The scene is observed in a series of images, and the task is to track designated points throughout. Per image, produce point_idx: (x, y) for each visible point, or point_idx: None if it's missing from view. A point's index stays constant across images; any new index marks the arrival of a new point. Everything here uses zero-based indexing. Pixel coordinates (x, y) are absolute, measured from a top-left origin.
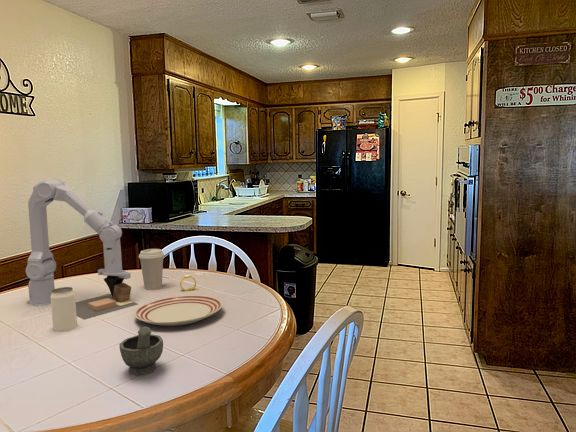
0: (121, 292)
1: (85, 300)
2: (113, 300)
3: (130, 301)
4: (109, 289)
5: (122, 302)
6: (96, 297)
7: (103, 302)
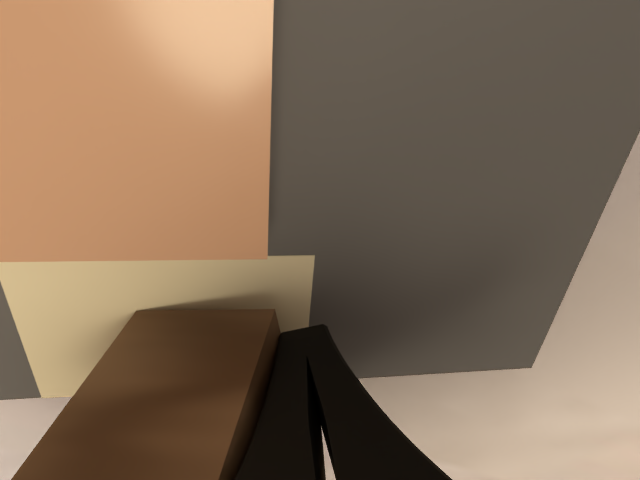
0: (51, 439)
1: (629, 93)
2: (47, 253)
3: None
4: (359, 389)
5: (123, 325)
6: (576, 236)
7: (44, 90)
